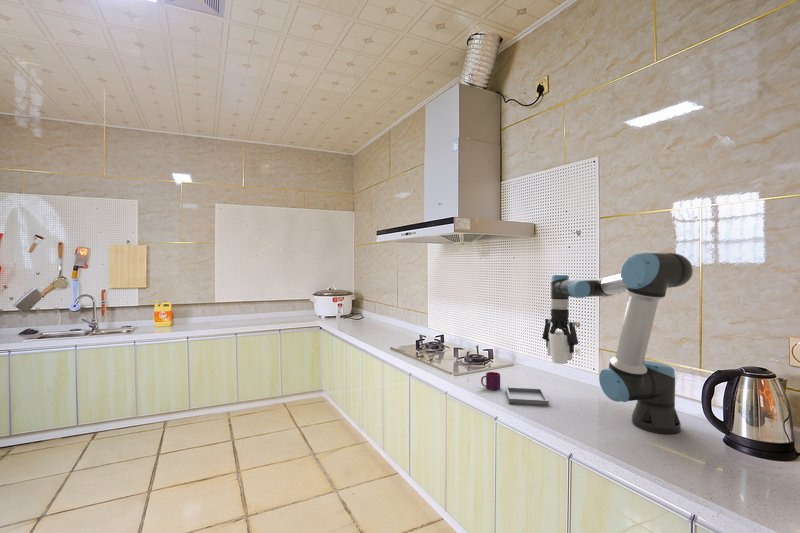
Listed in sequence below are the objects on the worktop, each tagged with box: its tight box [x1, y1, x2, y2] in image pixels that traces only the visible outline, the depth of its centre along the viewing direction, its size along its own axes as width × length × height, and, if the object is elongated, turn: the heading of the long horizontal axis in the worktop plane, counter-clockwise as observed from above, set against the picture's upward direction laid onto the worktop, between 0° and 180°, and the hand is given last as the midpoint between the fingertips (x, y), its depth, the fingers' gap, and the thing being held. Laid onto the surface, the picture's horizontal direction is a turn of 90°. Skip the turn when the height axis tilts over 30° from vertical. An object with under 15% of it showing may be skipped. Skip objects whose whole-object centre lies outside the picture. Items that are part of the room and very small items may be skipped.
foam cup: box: [549, 331, 571, 365], centre depth 177 cm, size 10×9×13 cm
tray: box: [505, 386, 549, 407], centre depth 173 cm, size 16×16×2 cm
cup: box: [480, 371, 501, 391], centre depth 188 cm, size 7×10×7 cm
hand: (559, 357), depth 177 cm, fingers closed on foam cup, 9 cm apart
